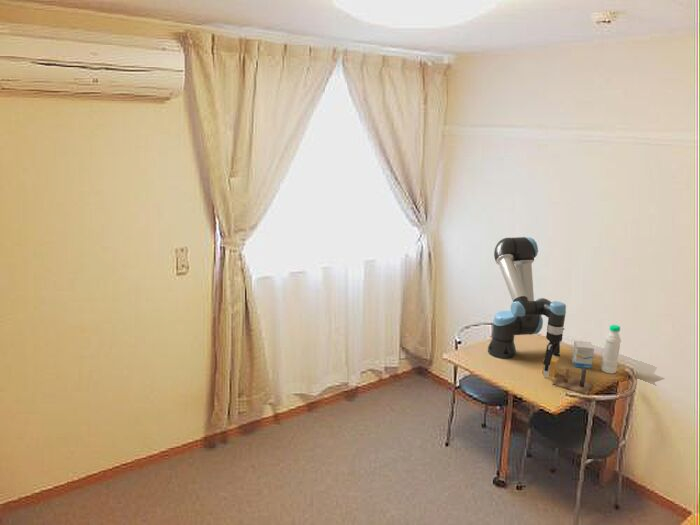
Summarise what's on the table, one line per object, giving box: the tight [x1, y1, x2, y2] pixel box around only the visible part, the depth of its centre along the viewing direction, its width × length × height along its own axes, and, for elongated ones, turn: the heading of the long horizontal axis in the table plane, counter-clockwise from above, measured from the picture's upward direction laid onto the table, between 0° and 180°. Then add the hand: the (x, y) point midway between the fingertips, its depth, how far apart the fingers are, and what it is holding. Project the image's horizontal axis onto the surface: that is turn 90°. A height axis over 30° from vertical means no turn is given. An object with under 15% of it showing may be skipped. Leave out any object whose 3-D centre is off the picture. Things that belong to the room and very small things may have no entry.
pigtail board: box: [552, 368, 594, 395], centre depth 253 cm, size 16×12×10 cm
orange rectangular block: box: [541, 357, 560, 378], centre depth 266 cm, size 6×6×8 cm
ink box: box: [571, 340, 595, 370], centre depth 275 cm, size 9×8×12 cm
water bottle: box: [600, 324, 622, 374], centre depth 267 cm, size 7×7×25 cm
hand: (550, 371), depth 266 cm, fingers open, 12 cm apart
